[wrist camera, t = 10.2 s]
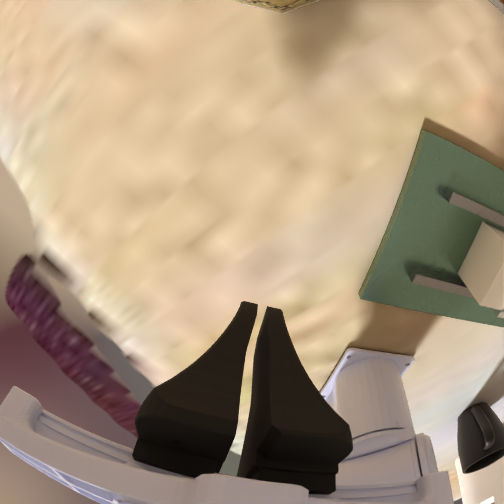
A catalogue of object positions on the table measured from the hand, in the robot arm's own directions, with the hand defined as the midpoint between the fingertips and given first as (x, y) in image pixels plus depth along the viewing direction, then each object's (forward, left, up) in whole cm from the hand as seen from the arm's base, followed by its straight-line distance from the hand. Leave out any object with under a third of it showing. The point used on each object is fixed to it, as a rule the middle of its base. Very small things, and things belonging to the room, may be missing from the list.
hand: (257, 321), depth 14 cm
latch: (+3, -19, -9) cm, 21 cm away
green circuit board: (+3, -22, -10) cm, 25 cm away
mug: (-20, -37, -11) cm, 43 cm away
